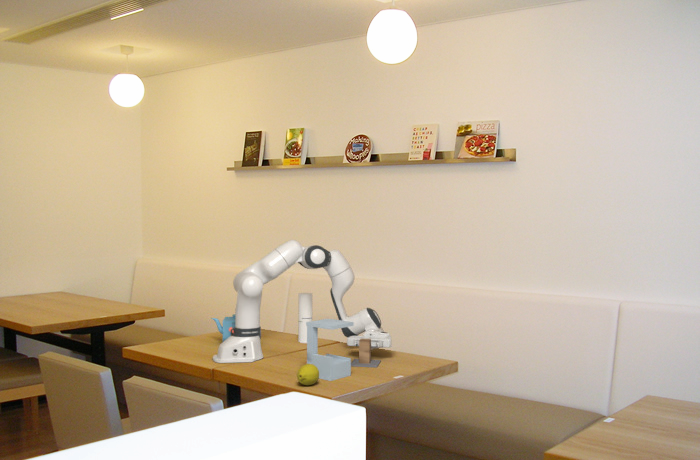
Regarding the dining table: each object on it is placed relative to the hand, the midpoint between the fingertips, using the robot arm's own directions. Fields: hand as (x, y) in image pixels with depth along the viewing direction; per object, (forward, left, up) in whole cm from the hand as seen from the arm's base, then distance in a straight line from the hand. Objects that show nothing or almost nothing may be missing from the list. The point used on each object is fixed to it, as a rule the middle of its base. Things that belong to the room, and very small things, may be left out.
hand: (366, 344), depth 276 cm
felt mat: (-1, -2, -8) cm, 8 cm away
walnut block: (-1, -2, -7) cm, 8 cm away
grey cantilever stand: (-21, -17, -8) cm, 28 cm away
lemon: (-35, -29, -8) cm, 46 cm away
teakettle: (-48, +61, -8) cm, 78 cm away
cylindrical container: (-13, +55, -8) cm, 57 cm away
